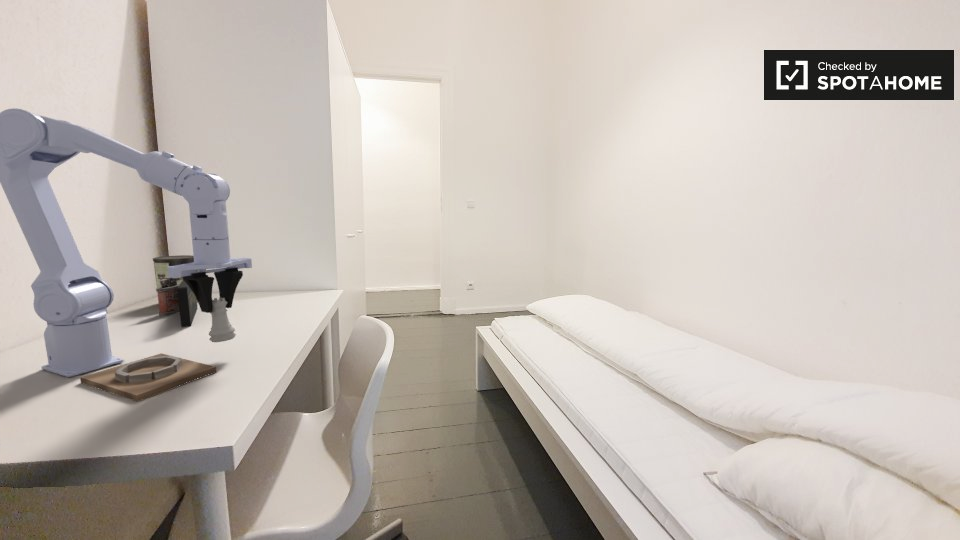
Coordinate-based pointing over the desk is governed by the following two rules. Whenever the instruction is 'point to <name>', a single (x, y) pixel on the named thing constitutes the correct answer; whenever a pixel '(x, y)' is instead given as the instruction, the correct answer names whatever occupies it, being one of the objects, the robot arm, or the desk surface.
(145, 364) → the socket board
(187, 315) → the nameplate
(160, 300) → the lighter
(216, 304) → the rook chess piece
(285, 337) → the desk surface
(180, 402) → the desk surface
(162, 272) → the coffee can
